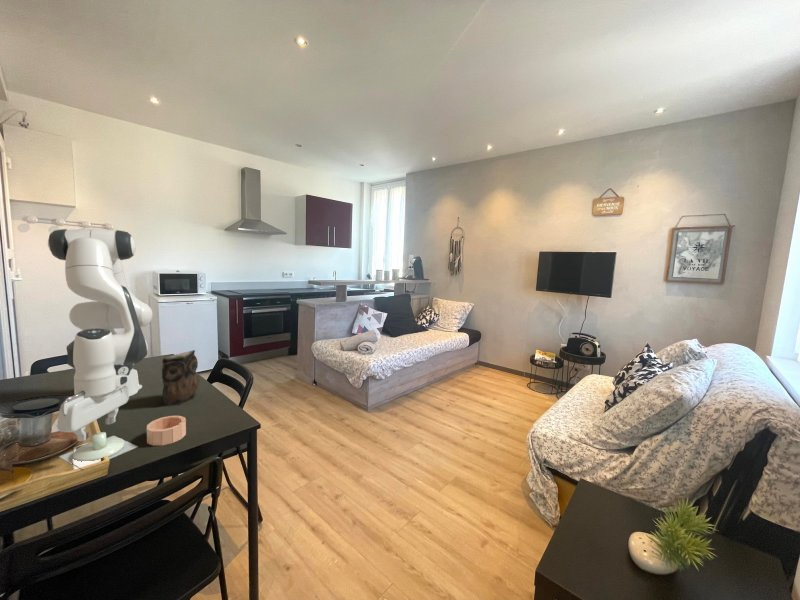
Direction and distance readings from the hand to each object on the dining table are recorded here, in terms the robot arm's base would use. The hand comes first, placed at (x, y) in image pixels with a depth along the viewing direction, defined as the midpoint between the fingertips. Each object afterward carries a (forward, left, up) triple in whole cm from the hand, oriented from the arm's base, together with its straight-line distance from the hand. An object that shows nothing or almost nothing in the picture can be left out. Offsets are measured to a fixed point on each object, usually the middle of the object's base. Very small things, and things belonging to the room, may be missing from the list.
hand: (97, 431), depth 94 cm
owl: (-18, +34, -7) cm, 40 cm away
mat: (0, 0, -7) cm, 7 cm away
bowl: (+8, +14, -7) cm, 18 cm away
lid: (0, 0, -7) cm, 7 cm away
